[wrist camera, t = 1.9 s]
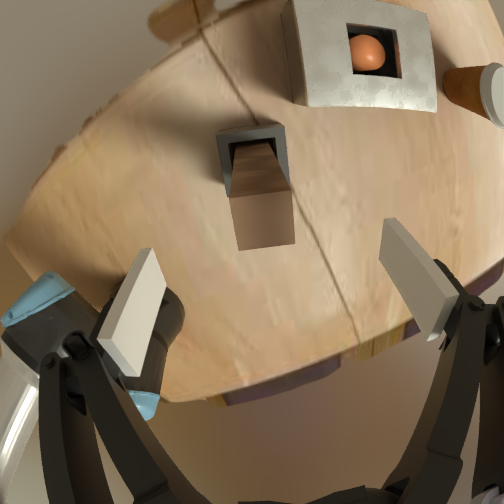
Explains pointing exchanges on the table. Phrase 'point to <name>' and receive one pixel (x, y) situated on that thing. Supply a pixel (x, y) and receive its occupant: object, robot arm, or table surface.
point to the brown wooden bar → (260, 198)
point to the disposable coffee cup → (478, 90)
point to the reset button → (366, 53)
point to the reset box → (339, 57)
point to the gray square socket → (251, 134)
